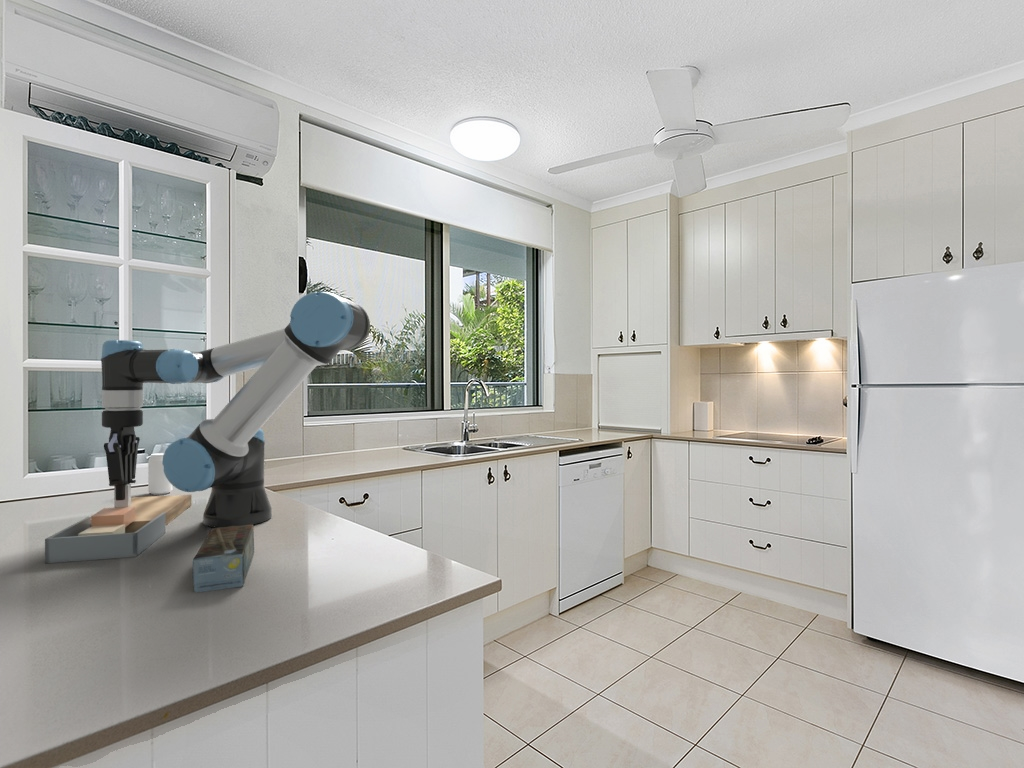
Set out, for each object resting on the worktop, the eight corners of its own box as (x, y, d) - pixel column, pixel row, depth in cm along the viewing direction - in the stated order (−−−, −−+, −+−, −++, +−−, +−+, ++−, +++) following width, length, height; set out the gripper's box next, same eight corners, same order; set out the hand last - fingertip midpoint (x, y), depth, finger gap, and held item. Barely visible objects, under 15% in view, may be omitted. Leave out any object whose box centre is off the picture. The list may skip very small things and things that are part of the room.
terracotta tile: (135, 519, 123) (134, 506, 123) (124, 528, 117) (123, 514, 117) (104, 521, 121) (103, 508, 121) (91, 530, 115) (90, 516, 115)
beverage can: (143, 495, 163) (143, 454, 162) (159, 490, 169) (159, 452, 169) (161, 495, 162) (161, 455, 161) (177, 491, 168) (177, 452, 168)
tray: (165, 532, 123) (165, 512, 123) (136, 556, 107) (136, 533, 107) (87, 537, 119) (87, 516, 119) (45, 563, 103) (44, 539, 103)
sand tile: (125, 538, 117) (125, 524, 117) (112, 546, 111) (112, 531, 111) (92, 540, 115) (92, 526, 115) (78, 548, 110) (78, 533, 110)
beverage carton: (190, 594, 89) (190, 554, 89) (210, 558, 107) (210, 524, 107) (244, 588, 92) (244, 549, 92) (255, 554, 110) (255, 521, 110)
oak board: (191, 505, 150) (191, 494, 150) (155, 533, 123) (155, 520, 123) (132, 508, 146) (132, 497, 146) (82, 538, 119) (82, 524, 119)
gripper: (115, 407, 128) (115, 507, 128) (89, 411, 115) (89, 522, 115) (152, 407, 130) (152, 506, 130) (129, 410, 117) (130, 519, 117)
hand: (122, 513), depth 123 cm, fingers closed
